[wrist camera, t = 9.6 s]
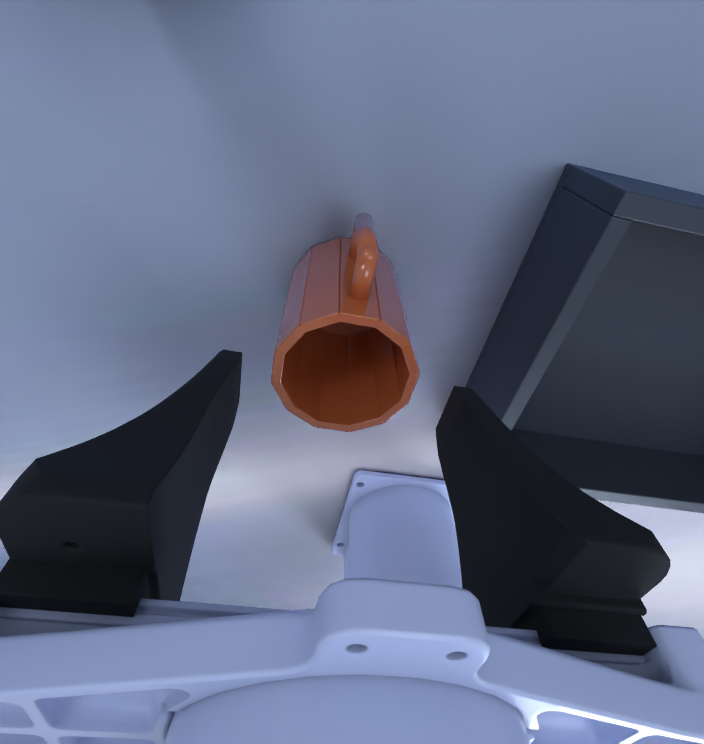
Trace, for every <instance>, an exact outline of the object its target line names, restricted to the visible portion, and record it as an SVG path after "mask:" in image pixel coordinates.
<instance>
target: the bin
mask: <svg viewBox="0 0 704 744" xmlns="http://www.w3.org/2000/svg"><path fill="white" fill-rule="evenodd" d="M465 388H471V389H472V390H473V391H474V392H475V393H476V394H477V395H478V396H479V397H480V398H481V399H482V400H483V401H484V402H485V403H486V404H487V406H488V407H489V408H490V409H491V410H492V411H493V412H494V413H495V414H496V415H497V417H498V418H499V419H500V420H501V421H502V422H503V423H504V424H505V425H506V426H507V427H508V428H509V429H510V430H511V431H512V432H513V433H514V434H515V435H516V436H517V437H518V438H519V439H520V440H521V441H522V442H523V443H524V444H525V445H526V446H527V447H528V448H529V449H530V450H531V451H532V452H533V453H534V454H536V455H537V456H538V457H539V458H540V459H541V460H542V461H544V462H545V463H546V464H547V465H549V466H550V467H551V468H552V469H553V470H555V471H556V472H557V473H558V474H560V475H561V476H562V477H564V478H565V479H566V480H568V481H569V482H571V483H572V484H573V485H575V486H576V487H578V488H579V489H580V490H582V491H583V492H585V493H586V494H588V495H589V496H591V497H592V498H594V499H595V500H602V501H610V502H618V503H626V504H634V505H642V506H650V507H658V508H666V509H674V510H682V511H690V512H698V513H704V195H701V194H696V193H692V192H688V191H683V190H679V189H675V188H671V187H666V186H662V185H658V184H654V183H649V182H645V181H641V180H637V179H632V178H628V177H624V176H619V175H615V174H611V173H607V172H602V171H598V170H594V169H590V168H585V167H581V166H577V165H573V164H567V165H566V167H565V169H564V171H563V174H562V176H561V178H560V180H559V182H558V185H557V187H556V189H555V191H554V193H553V196H552V198H551V200H550V202H549V204H548V207H547V209H546V211H545V213H544V215H543V218H542V220H541V222H540V224H539V226H538V229H537V231H536V233H535V235H534V237H533V240H532V242H531V244H530V246H529V248H528V251H527V253H526V255H525V257H524V259H523V262H522V264H521V266H520V268H519V270H518V273H517V275H516V277H515V279H514V281H513V284H512V286H511V288H510V290H509V292H508V295H507V297H506V299H505V301H504V303H503V306H502V308H501V310H500V312H499V314H498V317H497V319H496V321H495V323H494V325H493V328H492V330H491V332H490V334H489V336H488V339H487V341H486V343H485V345H484V347H483V350H482V352H481V354H480V356H479V358H478V361H477V363H476V365H475V367H474V369H473V372H472V374H471V376H470V378H469V380H468V383H467V385H466V387H465Z"/></svg>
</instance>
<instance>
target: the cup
mask: <svg viewBox="0 0 704 744" xmlns="http://www.w3.org/2000/svg"><path fill="white" fill-rule="evenodd" d="M418 377H419V368H418V364H417V360H416V356H415V351H414V347H413V343H412V339H411V335H410V331H409V327H408V322H407V318H406V314H405V310H404V306H403V302H402V298H401V293H400V289H399V285H398V282H397V278H396V275H395V272H394V268H393V265H392V262H391V261H390V260H389V259H388V258H387V257H386V256H385V255H384V254H382V253H381V252H380V251H379V250H378V247H377V241H376V236H375V230H374V225H373V219H372V217H371V215H370V214H368V213H366V212H362V213H360V214H358V215H357V216H356V218H355V222H354V227H353V232H352V237H351V239H349V238H344V237H341V238H340V237H339V238H336V239H333V240H330V241H327V242H324V243H321V244H318V245H315V246H313V247H311V249H310V250H309V251H308V252H307V253H306V254H305V256H304V257H303V258H302V259H301V260H300V262H299V263H298V264H297V265H296V266H295V269H294V271H293V275H292V280H291V284H290V288H289V292H288V297H287V301H286V305H285V309H284V313H283V318H282V322H281V326H280V330H279V335H278V339H277V343H276V347H275V351H274V359H273V368H272V377H271V382H272V385H273V387H274V389H275V390H276V392H277V394H278V396H279V397H280V399H281V401H282V403H283V405H284V406H285V408H286V409H287V410H288V411H289V412H291V413H292V414H294V415H296V416H297V417H299V418H301V419H302V420H304V421H306V422H307V423H309V424H310V425H312V426H314V427H315V426H316V427H317V428H323V429H331V430H338V431H345V432H349V431H351V432H352V431H356V430H360V429H364V428H368V427H372V426H376V425H380V424H383V423H385V422H386V421H387V420H389V419H390V418H391V417H392V416H394V415H395V414H396V413H397V412H398V411H400V410H401V409H402V408H403V407H405V406H406V405H407V404H408V402H410V399H411V396H412V394H413V391H414V388H415V385H416V383H417V380H418Z"/></svg>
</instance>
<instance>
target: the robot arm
mask: <svg viewBox="0 0 704 744" xmlns="http://www.w3.org/2000/svg"><path fill="white" fill-rule="evenodd" d="M241 366H242V352H235V351H229V350H222V351H220V352H219V353H218V354H217V355H216V356H215V357H214V358H213V359H212V360H211V361H210V362H209V363H208V364H207V365H206V366H205V367H204V368H203V369H202V370H201V371H200V372H198V373H197V374H196V375H195V376H194V377H193V378H192V379H190V380H189V381H188V382H187V383H186V384H185V385H183V386H182V387H181V388H179V389H178V390H177V391H176V392H174V393H173V394H172V395H170V396H169V397H168V398H166V399H165V400H163V401H162V402H161V403H159V404H158V405H156V406H155V407H153V408H152V409H150V410H148V411H147V412H145V413H144V414H142V415H140V416H138V417H137V418H135V419H133V420H131V421H129V422H127V423H125V424H123V425H121V426H119V427H118V428H116V429H114V430H111V431H109V432H107V433H105V434H103V435H100V436H98V437H96V438H93V439H91V440H88V441H86V442H83V443H81V444H78V445H76V446H73V447H70V448H67V449H64V450H61V451H58V452H55V453H52V454H49V455H46V456H43V457H40V458H37V459H35V461H34V462H33V463H32V464H31V465H30V466H29V467H28V468H27V469H26V470H25V471H24V472H23V473H22V474H21V476H20V477H19V478H18V479H17V480H16V482H15V483H14V484H13V485H12V487H11V488H10V489H9V491H8V492H7V493H6V494H5V496H4V497H3V498H2V500H1V501H0V538H1V540H2V543H3V545H4V547H5V549H6V551H7V553H8V555H9V557H10V559H9V560H8V562H7V563H6V565H5V566H4V567H3V569H2V570H1V572H0V744H704V640H703V638H702V637H701V635H700V633H699V632H698V630H697V629H694V628H689V627H678V626H666V625H656V626H652V627H649V628H647V626H646V624H645V622H644V620H643V618H642V617H641V615H642V616H644V615H645V614H646V611H647V610H646V608H645V606H644V604H643V602H642V601H641V598H642V597H643V596H644V595H645V594H647V593H648V592H649V591H650V590H651V589H652V588H654V587H655V586H656V585H657V584H658V583H660V582H661V581H662V580H663V578H664V577H665V576H666V575H667V573H668V571H669V568H670V559H669V557H668V556H667V554H666V553H665V551H664V549H663V548H662V546H661V545H660V543H659V542H658V540H657V539H656V537H655V536H654V534H653V532H652V531H650V530H649V529H647V528H645V527H643V526H641V525H639V524H637V523H635V522H634V521H632V520H630V519H628V518H626V517H624V516H622V515H621V514H619V513H617V512H615V511H613V510H612V509H610V508H609V507H607V506H605V505H604V504H602V503H600V502H599V501H597V500H595V499H594V498H592V497H591V496H589V495H588V494H586V493H585V492H583V491H582V490H580V489H579V488H578V487H576V486H575V485H573V484H572V483H571V482H569V481H568V480H566V479H565V478H564V477H562V476H561V475H560V474H558V473H557V472H556V471H555V470H553V469H552V468H551V467H550V466H549V465H547V464H546V463H545V462H544V461H542V460H541V459H540V458H539V457H538V456H537V455H536V454H534V453H533V452H532V451H531V450H530V449H529V448H528V447H527V446H526V445H525V444H524V443H523V442H522V441H521V440H520V439H519V438H518V437H517V436H516V435H515V434H514V433H513V432H512V431H511V430H510V429H509V428H508V427H507V426H506V425H505V424H504V423H503V422H502V421H501V420H500V419H499V418H498V417H497V415H496V414H495V413H494V412H493V411H492V410H491V409H490V408H489V407H488V406H487V404H486V403H485V402H484V401H483V400H482V399H481V398H480V397H479V396H478V395H477V394H476V393H475V392H474V391H473V390H472V389H471V388H465V387H459V386H454V388H453V390H452V392H451V395H450V397H449V399H448V402H447V404H446V406H445V409H444V411H443V413H442V415H441V418H440V420H439V422H438V425H437V427H436V438H437V448H438V456H439V460H440V464H441V468H442V472H443V476H444V480H445V481H444V480H436V479H428V478H420V477H412V476H404V475H396V474H388V473H380V472H372V471H364V470H360V471H357V472H356V473H355V474H354V477H353V480H352V484H351V487H350V490H349V493H348V496H347V500H346V503H345V506H344V509H343V513H342V516H341V519H340V522H339V526H338V529H337V532H336V535H335V539H334V542H333V545H332V553H333V554H334V555H338V556H344V580H341V581H338V582H336V583H333V584H331V585H329V586H328V587H327V588H326V589H325V590H324V592H323V593H322V594H321V595H320V596H319V598H318V601H317V605H316V608H315V609H306V610H294V611H292V610H280V609H267V608H255V607H243V606H231V605H218V604H206V603H194V602H182V601H180V597H181V593H182V589H183V585H184V581H185V577H186V573H187V569H188V565H189V561H190V557H191V553H192V549H193V545H194V541H195V537H196V533H197V530H198V526H199V522H200V518H201V515H202V511H203V507H204V504H205V500H206V496H207V493H208V490H209V487H210V484H211V481H212V479H213V476H214V474H215V471H216V469H217V466H218V464H219V461H220V459H221V456H222V453H223V451H224V448H225V446H226V443H227V441H228V438H229V435H230V433H231V430H232V428H233V424H234V420H235V416H236V412H237V408H238V404H239V397H240V382H241ZM359 482H360V483H359ZM454 522H455V524H454ZM455 528H456V529H455Z"/></svg>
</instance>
